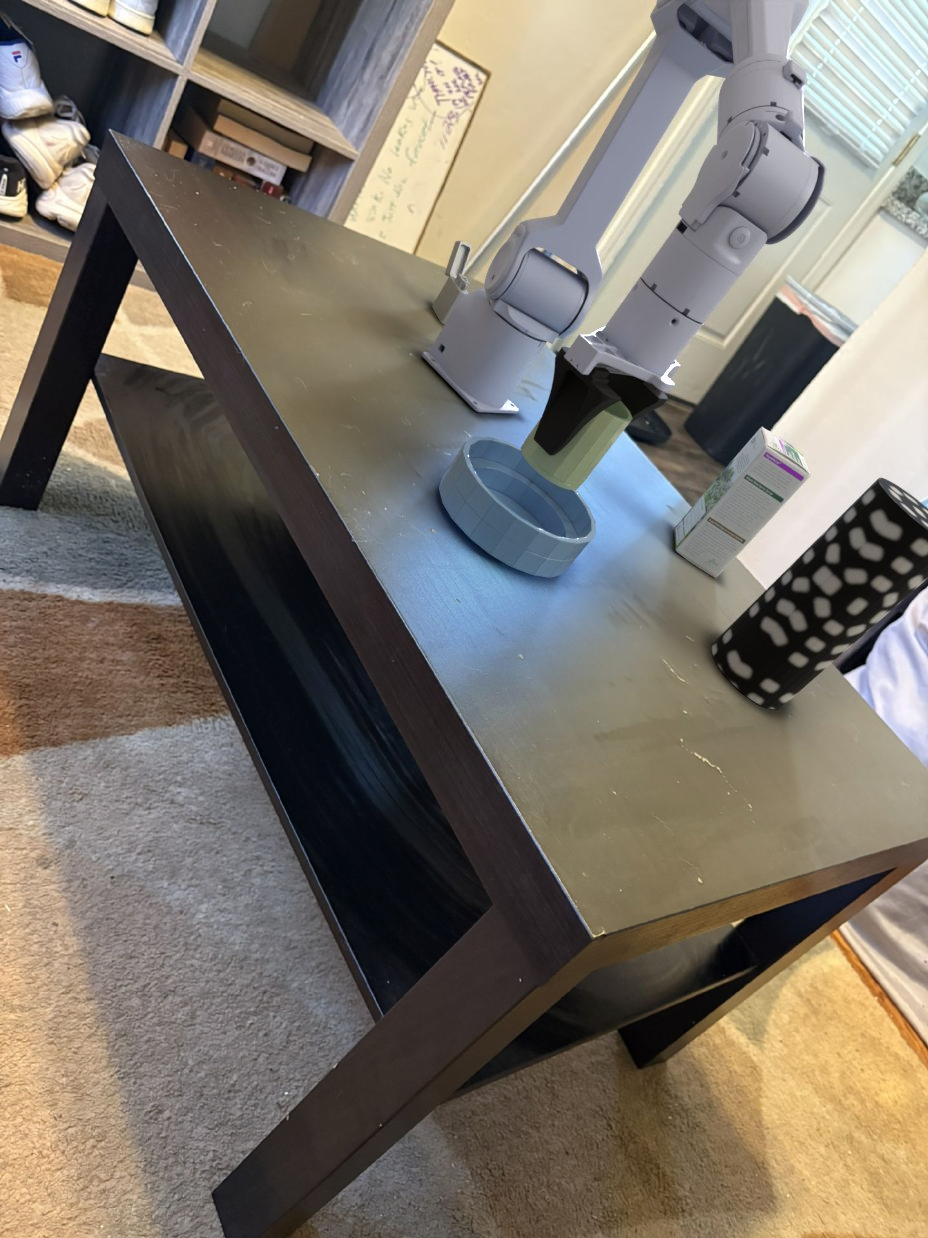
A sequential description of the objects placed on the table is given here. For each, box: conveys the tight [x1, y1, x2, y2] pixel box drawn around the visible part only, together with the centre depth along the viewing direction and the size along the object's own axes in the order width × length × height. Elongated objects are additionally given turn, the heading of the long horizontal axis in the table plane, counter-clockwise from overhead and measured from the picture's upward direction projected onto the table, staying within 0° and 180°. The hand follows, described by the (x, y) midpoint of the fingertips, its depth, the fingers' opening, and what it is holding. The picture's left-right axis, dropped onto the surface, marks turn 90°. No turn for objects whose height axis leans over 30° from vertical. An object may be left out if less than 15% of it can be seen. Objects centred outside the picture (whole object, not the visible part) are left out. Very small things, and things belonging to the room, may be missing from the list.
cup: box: [520, 401, 632, 491], centre depth 70 cm, size 6×6×7 cm
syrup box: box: [673, 426, 812, 579], centre depth 91 cm, size 6×6×14 cm
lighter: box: [431, 240, 473, 325], centre depth 105 cm, size 7×2×8 cm, turn 20°
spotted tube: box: [711, 477, 928, 710], centre depth 75 cm, size 8×8×20 cm
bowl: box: [438, 436, 597, 579], centre depth 73 cm, size 13×13×4 cm
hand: (563, 446), depth 70 cm, fingers closed on cup, 6 cm apart
